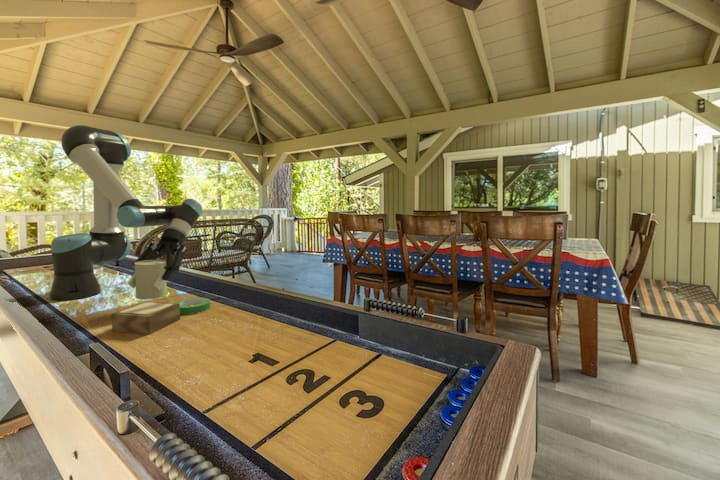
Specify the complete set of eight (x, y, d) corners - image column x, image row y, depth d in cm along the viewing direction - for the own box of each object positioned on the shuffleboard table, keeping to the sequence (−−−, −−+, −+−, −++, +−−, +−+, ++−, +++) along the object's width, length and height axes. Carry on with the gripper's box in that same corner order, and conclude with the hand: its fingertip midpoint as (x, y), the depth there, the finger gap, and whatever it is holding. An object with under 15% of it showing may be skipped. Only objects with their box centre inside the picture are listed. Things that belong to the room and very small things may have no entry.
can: (152, 300, 110) (151, 264, 108) (128, 298, 111) (126, 262, 110) (173, 293, 119) (172, 259, 117) (151, 290, 120) (149, 257, 119)
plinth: (112, 331, 95) (111, 313, 94) (146, 316, 107) (145, 300, 106) (150, 334, 93) (148, 315, 92) (180, 319, 105) (179, 303, 104)
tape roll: (192, 316, 108) (191, 308, 108) (166, 312, 112) (165, 305, 112) (217, 306, 118) (217, 299, 118) (193, 303, 122) (193, 296, 122)
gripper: (207, 241, 126) (178, 295, 112) (156, 238, 130) (122, 290, 116) (197, 228, 120) (166, 283, 107) (144, 225, 124) (107, 278, 110)
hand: (143, 286), depth 111 cm, fingers closed on can, 9 cm apart
